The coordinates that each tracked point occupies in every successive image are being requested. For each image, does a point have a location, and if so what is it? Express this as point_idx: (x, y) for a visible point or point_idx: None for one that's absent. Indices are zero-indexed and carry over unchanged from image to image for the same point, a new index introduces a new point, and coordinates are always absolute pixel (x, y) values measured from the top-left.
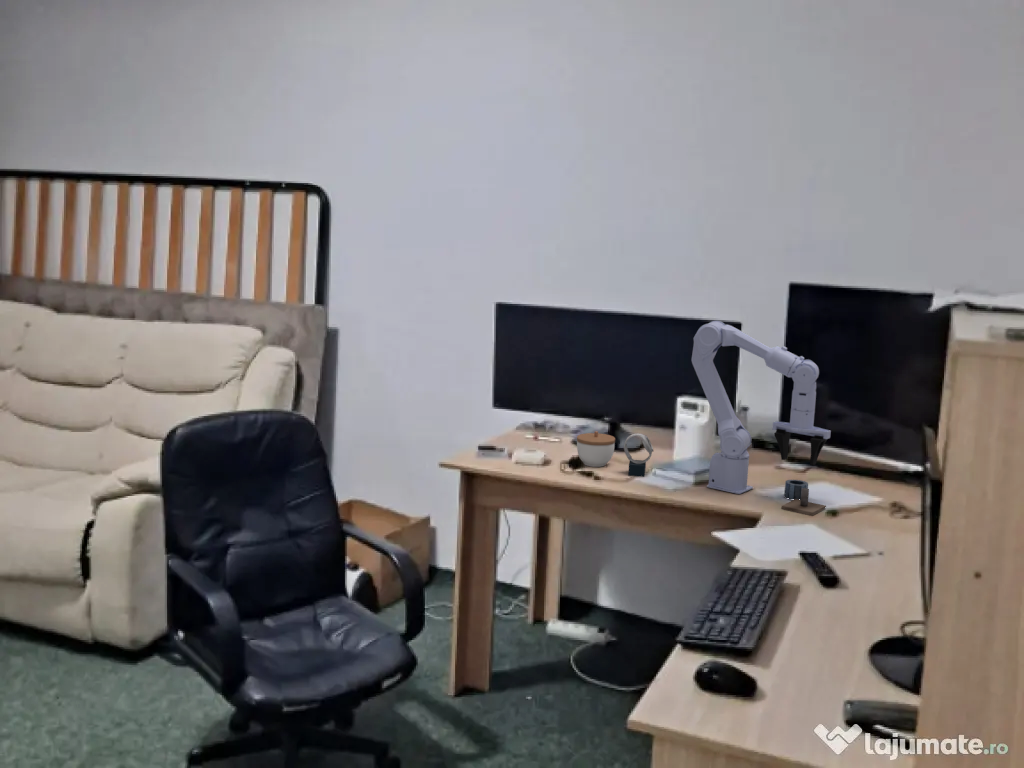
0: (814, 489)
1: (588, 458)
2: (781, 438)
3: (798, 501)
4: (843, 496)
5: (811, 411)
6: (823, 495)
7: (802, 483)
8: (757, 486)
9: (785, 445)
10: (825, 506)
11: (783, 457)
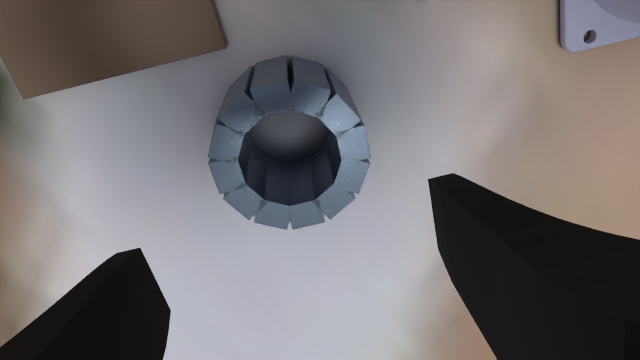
0: (336, 318)
1: None
2: (599, 286)
3: (170, 15)
4: (182, 340)
5: None
6: (242, 280)
7: (276, 197)
8: (565, 118)
9: (504, 308)
10: (20, 89)
11: (437, 182)
